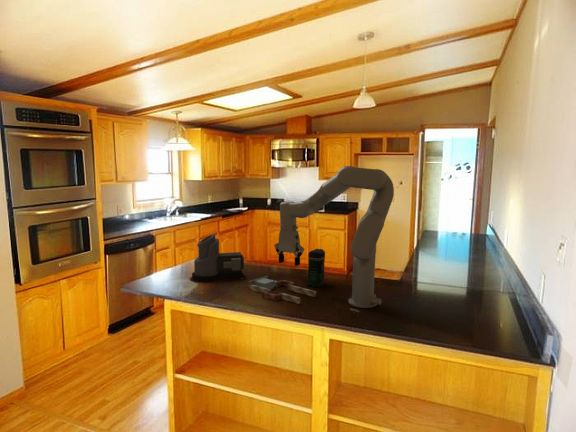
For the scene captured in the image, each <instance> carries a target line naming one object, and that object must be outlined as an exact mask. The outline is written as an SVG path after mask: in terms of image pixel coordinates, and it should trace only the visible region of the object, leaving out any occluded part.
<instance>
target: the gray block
mask: <svg viewBox="0 0 576 432" xmlns="http://www.w3.org/2000/svg"><path fill="white" fill-rule="evenodd" d="M274 281H275V280H274V279H269V278H268V279H266V278H263V279H259V280H256V281H255V285H256V286H260V287H263V288H267V289H270V290H273V289H275V286H274Z"/></svg>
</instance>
